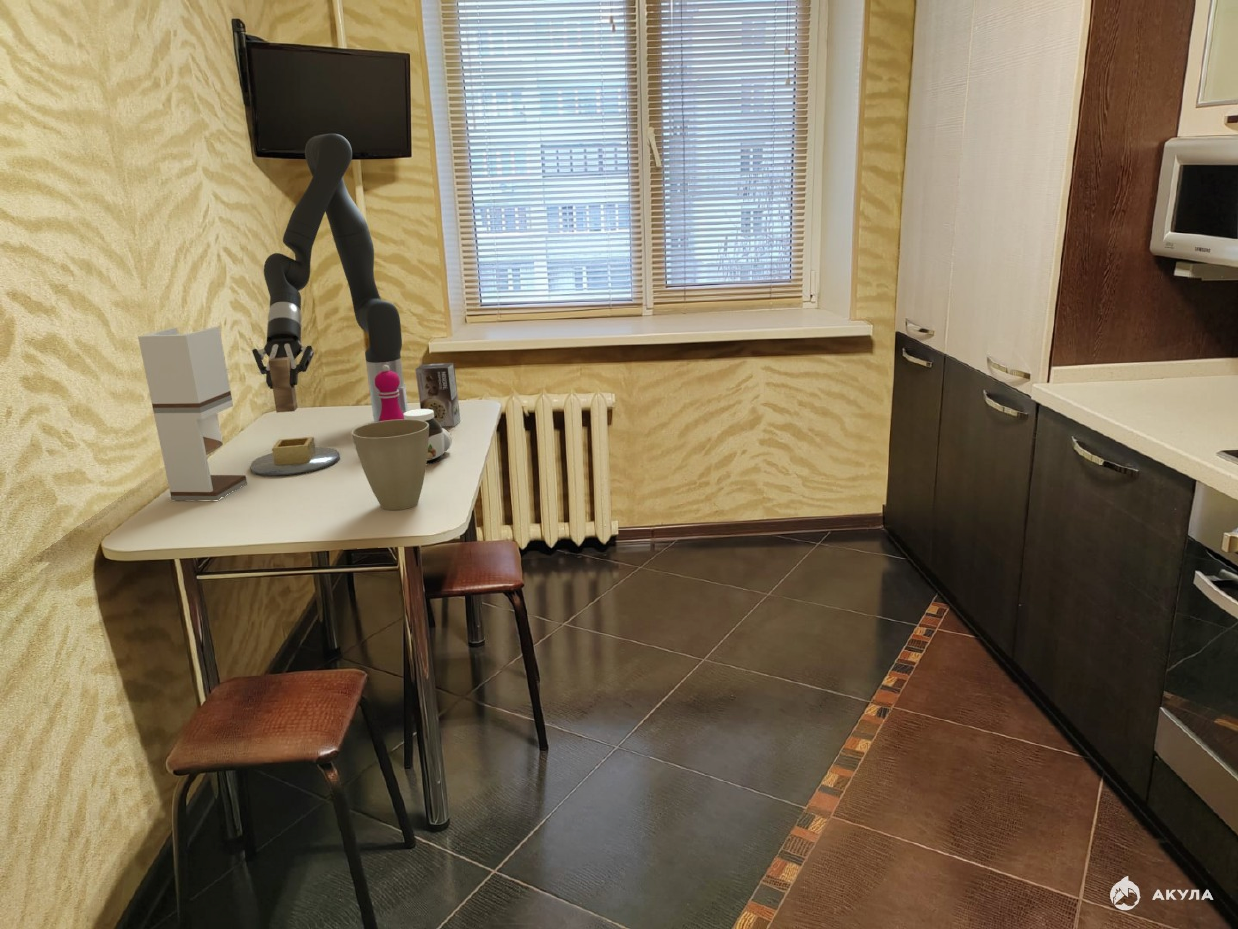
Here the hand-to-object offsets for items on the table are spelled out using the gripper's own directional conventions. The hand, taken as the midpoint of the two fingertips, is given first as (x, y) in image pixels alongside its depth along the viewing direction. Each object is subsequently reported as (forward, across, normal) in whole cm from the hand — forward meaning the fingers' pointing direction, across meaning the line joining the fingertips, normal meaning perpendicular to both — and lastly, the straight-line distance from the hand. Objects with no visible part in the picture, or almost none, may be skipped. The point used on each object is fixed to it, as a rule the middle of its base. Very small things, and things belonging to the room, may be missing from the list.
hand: (281, 386), depth 207 cm
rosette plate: (+12, 0, +15) cm, 19 cm away
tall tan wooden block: (+3, 0, +6) cm, 6 cm away
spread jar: (+16, +31, +11) cm, 37 cm away
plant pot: (+38, +27, -11) cm, 48 cm away
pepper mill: (+4, +22, +23) cm, 32 cm away
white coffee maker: (+24, -15, +3) cm, 29 cm away
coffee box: (-7, +33, +34) cm, 48 cm away
